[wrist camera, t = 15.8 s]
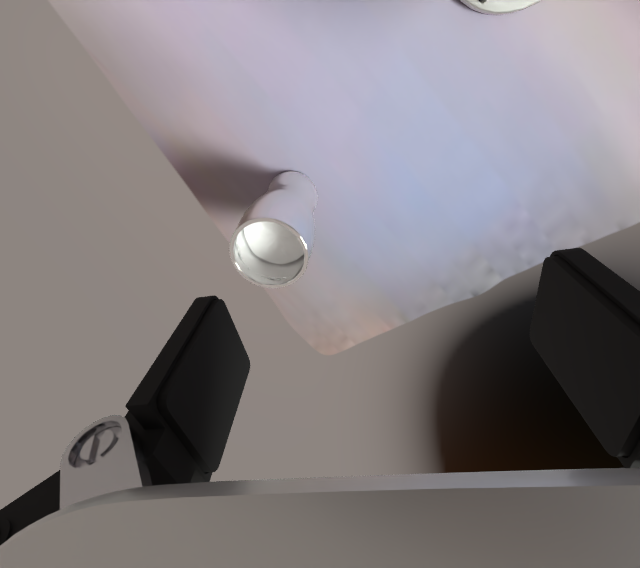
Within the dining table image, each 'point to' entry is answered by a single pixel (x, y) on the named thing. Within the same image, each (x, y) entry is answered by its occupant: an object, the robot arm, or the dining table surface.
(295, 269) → the beer glass
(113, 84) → the dining table surface
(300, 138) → the dining table surface
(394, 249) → the dining table surface
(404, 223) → the dining table surface
